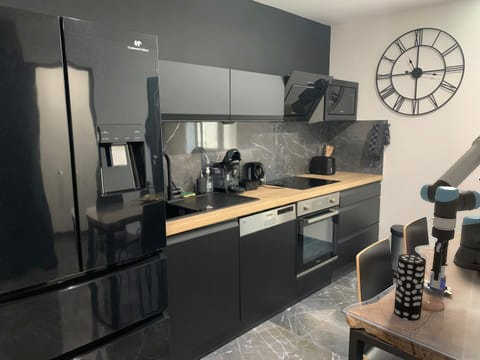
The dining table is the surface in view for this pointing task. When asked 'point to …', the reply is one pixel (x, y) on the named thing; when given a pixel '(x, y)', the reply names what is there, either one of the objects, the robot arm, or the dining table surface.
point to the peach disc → (432, 303)
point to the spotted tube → (409, 287)
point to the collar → (437, 292)
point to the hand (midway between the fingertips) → (437, 284)
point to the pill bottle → (442, 281)
